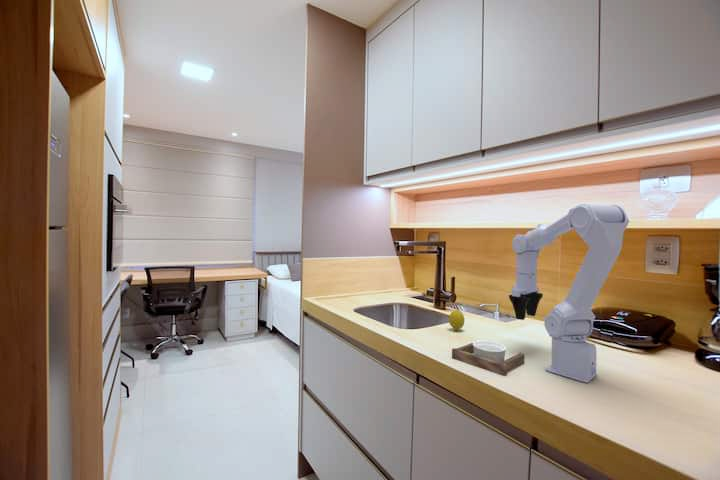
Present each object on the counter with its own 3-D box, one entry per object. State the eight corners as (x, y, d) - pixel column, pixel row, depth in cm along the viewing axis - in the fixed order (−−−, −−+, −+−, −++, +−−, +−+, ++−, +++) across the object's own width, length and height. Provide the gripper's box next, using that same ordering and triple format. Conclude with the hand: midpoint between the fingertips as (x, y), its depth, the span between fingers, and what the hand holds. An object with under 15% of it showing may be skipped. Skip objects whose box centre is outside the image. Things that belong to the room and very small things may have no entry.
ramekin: (499, 355, 95) (499, 341, 95) (511, 367, 86) (511, 351, 86) (469, 354, 96) (469, 340, 96) (477, 366, 87) (477, 350, 87)
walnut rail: (526, 363, 89) (526, 354, 89) (504, 375, 81) (504, 365, 81) (475, 348, 101) (475, 340, 101) (451, 357, 93) (452, 349, 93)
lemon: (462, 328, 123) (462, 308, 123) (465, 332, 117) (466, 311, 117) (447, 328, 124) (448, 307, 124) (450, 332, 118) (450, 310, 118)
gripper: (523, 271, 107) (522, 311, 107) (502, 273, 98) (501, 318, 98) (546, 273, 101) (545, 315, 101) (526, 276, 92) (525, 323, 92)
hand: (525, 317), depth 99 cm, fingers open, 7 cm apart
